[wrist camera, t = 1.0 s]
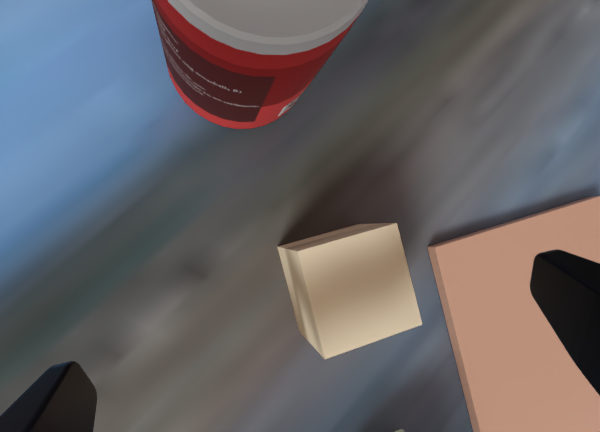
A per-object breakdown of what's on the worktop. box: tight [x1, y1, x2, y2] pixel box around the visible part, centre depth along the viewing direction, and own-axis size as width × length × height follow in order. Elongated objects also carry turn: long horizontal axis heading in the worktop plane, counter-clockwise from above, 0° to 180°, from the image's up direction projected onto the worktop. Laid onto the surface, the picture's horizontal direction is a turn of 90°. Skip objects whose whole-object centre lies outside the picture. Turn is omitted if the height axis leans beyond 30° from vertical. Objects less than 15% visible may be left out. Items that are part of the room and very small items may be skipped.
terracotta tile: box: [428, 196, 600, 432], centre depth 26 cm, size 16×13×1 cm
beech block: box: [278, 223, 422, 359], centre depth 21 cm, size 5×5×5 cm
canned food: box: [152, 0, 368, 129], centre depth 17 cm, size 8×8×11 cm
